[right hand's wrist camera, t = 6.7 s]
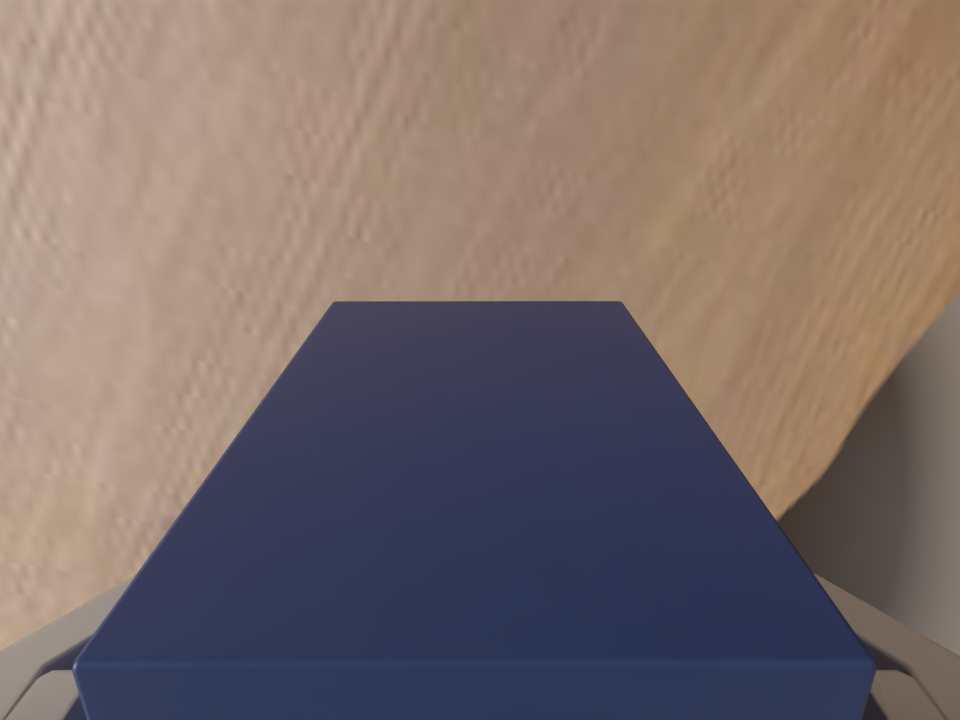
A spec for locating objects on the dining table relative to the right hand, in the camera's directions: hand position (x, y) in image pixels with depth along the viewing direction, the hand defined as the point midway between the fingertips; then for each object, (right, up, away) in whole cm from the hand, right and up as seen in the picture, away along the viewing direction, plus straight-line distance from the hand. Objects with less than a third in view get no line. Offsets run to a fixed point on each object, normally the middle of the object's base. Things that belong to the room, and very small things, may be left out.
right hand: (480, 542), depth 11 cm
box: (0, -5, +7) cm, 9 cm away
